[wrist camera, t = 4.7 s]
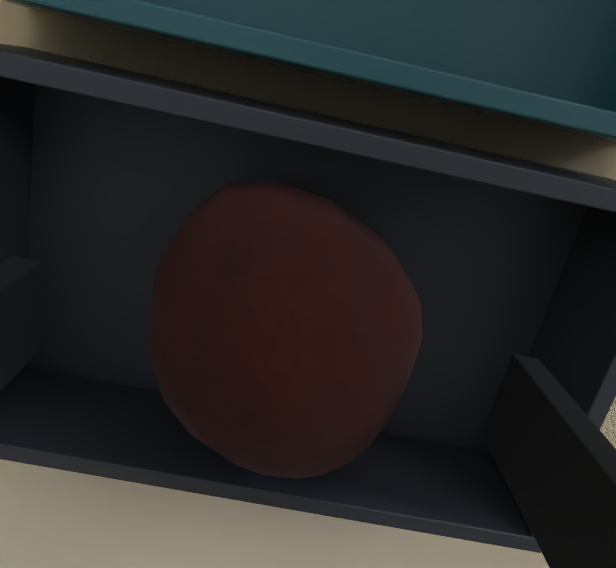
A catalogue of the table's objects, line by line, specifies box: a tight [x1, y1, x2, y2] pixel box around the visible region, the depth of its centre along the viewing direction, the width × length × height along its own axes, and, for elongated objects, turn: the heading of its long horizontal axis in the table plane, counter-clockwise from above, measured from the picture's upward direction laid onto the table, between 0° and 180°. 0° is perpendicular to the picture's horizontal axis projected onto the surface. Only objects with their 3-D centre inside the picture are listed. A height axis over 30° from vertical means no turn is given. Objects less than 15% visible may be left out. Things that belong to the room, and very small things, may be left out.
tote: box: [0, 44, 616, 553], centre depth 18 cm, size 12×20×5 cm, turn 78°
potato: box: [146, 181, 423, 479], centre depth 16 cm, size 8×9×8 cm
